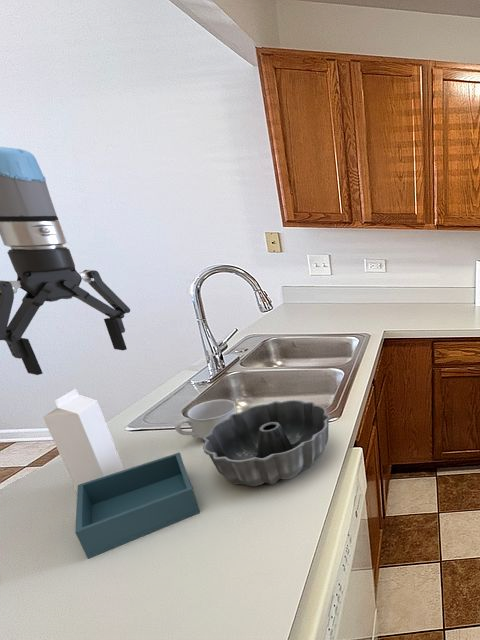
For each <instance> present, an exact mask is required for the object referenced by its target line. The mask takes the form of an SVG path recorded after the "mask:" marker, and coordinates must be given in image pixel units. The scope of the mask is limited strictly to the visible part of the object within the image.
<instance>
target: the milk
mask: <svg viewBox="0 0 480 640" xmlns="http://www.w3.org/2000/svg"><path fill="white" fill-rule="evenodd" d="M54 404H55V408H54V409H53V410H51V411H49V412H48V413H46V414H44V415H43V416H42V418H43V421H44V423H45V425H46V427H47V429H48V431H49V434H50V436H51V438H52V441H53V442H54V445H55V447H56V449H57V451H58V454H59V456H60V458H61V460H62V462H63V465H64V467H65V469H66V472H67V474H68V475H69V478H70V480H71V483H72V485H73V487H74V489H75V491H76V492H77V489H78V485H79V484H82V483H85V482H88V481H92V480H95V479H98V478H101V477H104V476H107V475H110V474H113V473H117V472H120V471H123V470H125V467H124V465H123V462H122V460H121V457H120V455H119V452H118V450H117V448H116V444H115V442H114V439H113V437H112V434H111V432H110V429H109V426H108V424H107V422H106V419H105V417H104V414H103V411H102V409H101V406H100V403H99V401H98V400H97V399H94V398H92V397H87V396H84V395H81V394H79V392H78V390H77V388H74V389H71V391H68V392H67V393H64V394H63V395H62V396H60V397H57V398H56V399H55V400H54Z"/></svg>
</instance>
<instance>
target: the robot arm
mask: <svg viewBox="0 0 480 640" xmlns="http://www.w3.org/2000/svg"><path fill="white" fill-rule="evenodd" d="M46 181H47V180H46V176H44V174H43V171H42V169H41V167H40V164H39V163H38V161H37V158H36V157H35V155H34V154H33V153H32V152H30V151H28V150H25V149H22V148H15V147H6V146H0V239H1V241H2V243H3V245H4V246H6V247H9V248H10V249H8V251H7V255H8V258H9V260H10V263H11V265H12V267H13V269H14V271H15V273H16V277H17V278H16V280H0V341H5V342H6V345H7V347H8V349H9V352H10V353H11V356H12V357H13V358H15V359H18V360H19V359H21V360H22V361H21V362H22V363H23V365H24V368H25V370H26V372H27V374H30V375H35V376H39V375H43V374H44V373H43V371H42V368H41V366H40V364H39V363H40V362H39V361H38V358H37V356H36V353H35V351H34V349H33V347H32V344H31V342H30V340H29V338H25V337H23V335H24V333H25V332H26V330H27V328H28V327H29V325H30V324H31V322H32V321H33V319H34V317H35V316H36V314H37V312H38V310H40V308H41V307H42V306H43V305H44V304H45V302H48V303H52V302H57V301H59V300H71V299H73V298H76V299H78V300H79V301H81V302H82V303H85V304H86V305H88V306H90V307H91V308H93V309H94V310H96V311H98V312H100V313H101V314H103V315H105V316H106V317H107V318H103V321H104V324H105V327H106V330H107V332H108V335H109V338H110V342H111V344H112V347H113V350H116V351H117V350H118V351H127V350H128V348H127V345H126V342H125V339H124V336H123V334H124V333H126V328H125V326H124V322H123V320H122V319H124V318H125V314H129V313H131V308H130V307H129V306H128V305H127V303H125V302H124V301H123V300H122V299H121V298H120V297H119V296H118V295H117V294H116V293H115V292H114V291H113V290H112V289H111V288H110V287H109V286H108V285H107V284H106V283H105V282H104V280H103V279H102V277H101V275H100V273H99V271H97V270H95V269H84V270H83V271H81V272H78V271H77V269H76V264H75V261H74V258H73V256H72V253H71V250H70V248H68V247H65V246H64V245H66V244H67V240H66V237H65V234H64V230H63V229H62V225H61V222H60V220H59V217H58V215H57V212H56V210H55V207H54V204H53V200H52V197H51V194H50V191H49V187H48V185H47V182H46ZM82 280H83V282H85V283H88V285H89V286H90V287H91V288H92V289H93V290H94V291H95V292H96V293H97V294H98V295H99V296H101V298H102V299H104V301H106V302H107V303H108V304H106V303H105V302H103V301H102V300H100V299H98V298H97V297H95V296H94V295H92V294H90V292H88V291H86V289H83V288H82V287H80V285H81V283H82ZM18 289H21V290H22V291H24V292H25V295H24V296H23V297H22V299H21V304H20V305H19V307H18V308H17V311H16V312H15V313H14V315H13V317H12V318H11V320H10V317H11V312H12V308H13V305H14V299H15V294H16V293H17V292H18ZM9 321H10V322H9Z"/></svg>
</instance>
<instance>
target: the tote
mask: <svg viewBox="0 0 480 640" xmlns="http://www.w3.org/2000/svg"><path fill="white" fill-rule="evenodd" d="M200 511H201V510H200V508H199V505H198V502H197V499H196V496H195V493H194V489H193V486H192V484H191V481H190V478H189V475H188V473H187V470H186V467H185V464H184V461H183V458H182V455H181V453H180V452H176V453H172V454H170V455H166V456H163V457H161V458H158V459H153V460H151V461H147V462H145V463H141V464H139V465H136V466H132V467H129V468H126V469H124V470H123V471H120V472H117V473H113V474H110V475H107V476H104V477H101V478H98V479H95V480H92V481H88V482H85V483H82V484H79V485H78V489H77V491H76V512H75V513H76V514H75V532H74V533H75V535H76V537H77V539H78V541H79V543H80V545H81V547H82V550H83V552H84V554H85V556H86V558H87V559H91V558H94V557H96V556H98V555H101V554H103V553H105V552H108V551H110V550H113V549H115V548H118V547H120V546H124V545H125V544H127V543H129V542H132V541H135V540H137V539H139V538H143V537H145V536H147V535H149V534H152V533H154V532H156V531H160V530H161V529H164V528H166V527H169V526H171V525H173V524H176V523H179V522H180V521H184V520H186V519H188V518H190V517H192V516H195V515H196V516H197V514H200V513H201V512H200Z"/></svg>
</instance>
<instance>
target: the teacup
mask: <svg viewBox="0 0 480 640" xmlns="http://www.w3.org/2000/svg"><path fill="white" fill-rule="evenodd" d="M236 406H237V405H236V403H235V401H233V400H230V399H223V398H221V399H212V400H207V401H204V402H201V403H197V404H196V405H194V406H192V407H191V408H190V409H189V410H188V411H187V414H186V415H187V417H188V418H181V419H179V420H178V421H177V422H176V423H175V424H174V425H175V426H174V429H175V431H176V432H177V433H178V434H179V435H182V436H189V437H190V436H191V437H193V438H199V439H202V440H203V438H204V437H205V436H206V435H208V434H209V433H210V430H211V428H212V427H213V426H214V425H216V424H217V423H219V422H221V421H223V420H225V419H227V418H228V417H229V416H230V415H231V414H235V413H238V411H237V407H236ZM184 424H188V425H189V426H190V428H191V431H190V430H189V431H186V430H182V429H181V428H182V425H184Z"/></svg>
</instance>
